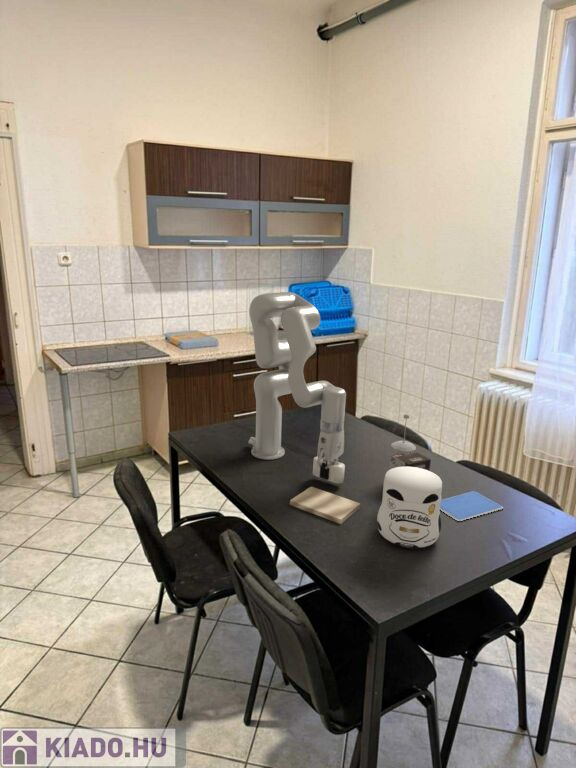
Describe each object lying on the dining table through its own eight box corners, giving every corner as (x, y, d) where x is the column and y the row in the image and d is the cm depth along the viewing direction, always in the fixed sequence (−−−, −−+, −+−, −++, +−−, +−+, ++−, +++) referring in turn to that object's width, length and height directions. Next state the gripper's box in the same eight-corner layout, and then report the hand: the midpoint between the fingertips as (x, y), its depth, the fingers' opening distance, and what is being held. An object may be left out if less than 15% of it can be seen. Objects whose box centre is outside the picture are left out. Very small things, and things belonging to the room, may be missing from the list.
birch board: (289, 504, 166) (290, 500, 165) (310, 490, 175) (311, 486, 175) (340, 524, 156) (340, 519, 155) (360, 507, 165) (360, 503, 165)
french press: (379, 483, 182) (385, 413, 175) (397, 473, 190) (404, 406, 183) (404, 493, 175) (412, 421, 168) (422, 482, 183) (430, 413, 176)
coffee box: (402, 513, 163) (408, 464, 159) (389, 503, 169) (394, 456, 164) (426, 507, 167) (431, 459, 163) (412, 497, 173) (417, 451, 168)
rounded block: (310, 474, 181) (311, 459, 180) (317, 469, 185) (318, 455, 183) (339, 484, 175) (340, 469, 174) (345, 479, 179) (347, 464, 177)
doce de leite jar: (399, 560, 140) (405, 498, 135) (364, 526, 155) (369, 469, 150) (452, 546, 146) (460, 487, 141) (413, 516, 162) (420, 461, 157)
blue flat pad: (458, 524, 159) (458, 520, 158) (429, 505, 170) (429, 501, 169) (504, 510, 168) (504, 507, 167) (473, 493, 178) (474, 489, 178)
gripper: (328, 435, 166) (324, 488, 171) (354, 420, 179) (350, 470, 185) (308, 429, 170) (304, 481, 175) (335, 415, 183) (331, 464, 189)
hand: (328, 475), depth 180 cm, fingers closed on rounded block, 4 cm apart
